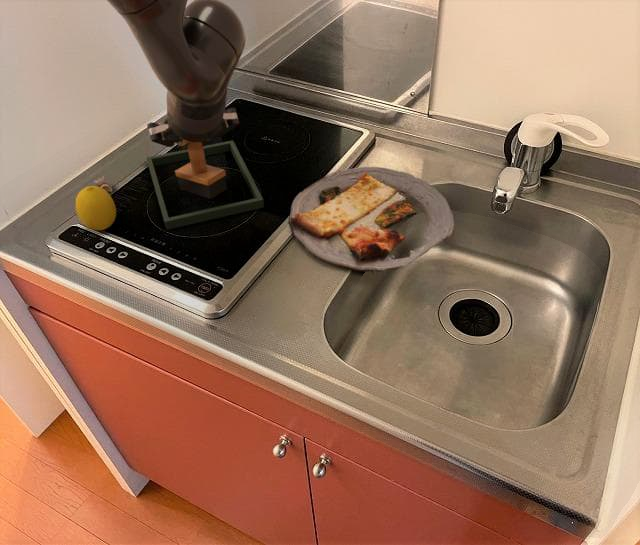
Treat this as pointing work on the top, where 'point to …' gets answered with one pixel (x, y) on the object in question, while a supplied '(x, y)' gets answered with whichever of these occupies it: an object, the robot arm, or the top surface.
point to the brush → (200, 174)
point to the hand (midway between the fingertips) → (192, 142)
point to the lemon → (95, 208)
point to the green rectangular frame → (212, 212)
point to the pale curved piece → (104, 185)
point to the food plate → (354, 203)
